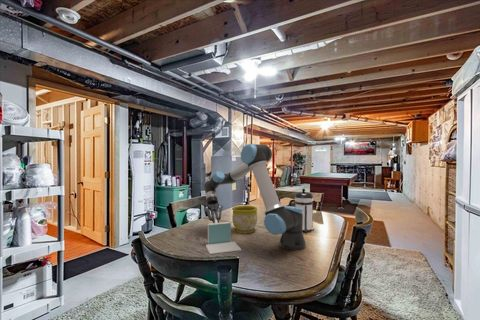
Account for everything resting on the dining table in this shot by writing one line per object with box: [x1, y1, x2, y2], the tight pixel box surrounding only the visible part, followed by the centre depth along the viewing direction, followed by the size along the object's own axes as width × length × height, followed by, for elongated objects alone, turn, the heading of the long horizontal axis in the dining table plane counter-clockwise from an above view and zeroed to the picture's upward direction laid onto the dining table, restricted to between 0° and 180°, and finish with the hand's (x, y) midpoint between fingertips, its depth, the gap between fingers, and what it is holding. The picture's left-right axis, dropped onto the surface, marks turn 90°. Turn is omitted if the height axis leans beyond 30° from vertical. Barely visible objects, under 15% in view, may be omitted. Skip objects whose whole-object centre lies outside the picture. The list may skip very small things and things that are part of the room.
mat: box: [205, 241, 242, 255], centre depth 143 cm, size 14×18×1 cm
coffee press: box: [288, 188, 315, 234], centre depth 177 cm, size 17×16×30 cm
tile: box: [207, 221, 232, 244], centre depth 152 cm, size 3×14×12 cm, turn 108°
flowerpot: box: [231, 205, 258, 234], centre depth 176 cm, size 18×18×16 cm
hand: (217, 229), depth 157 cm, fingers closed
